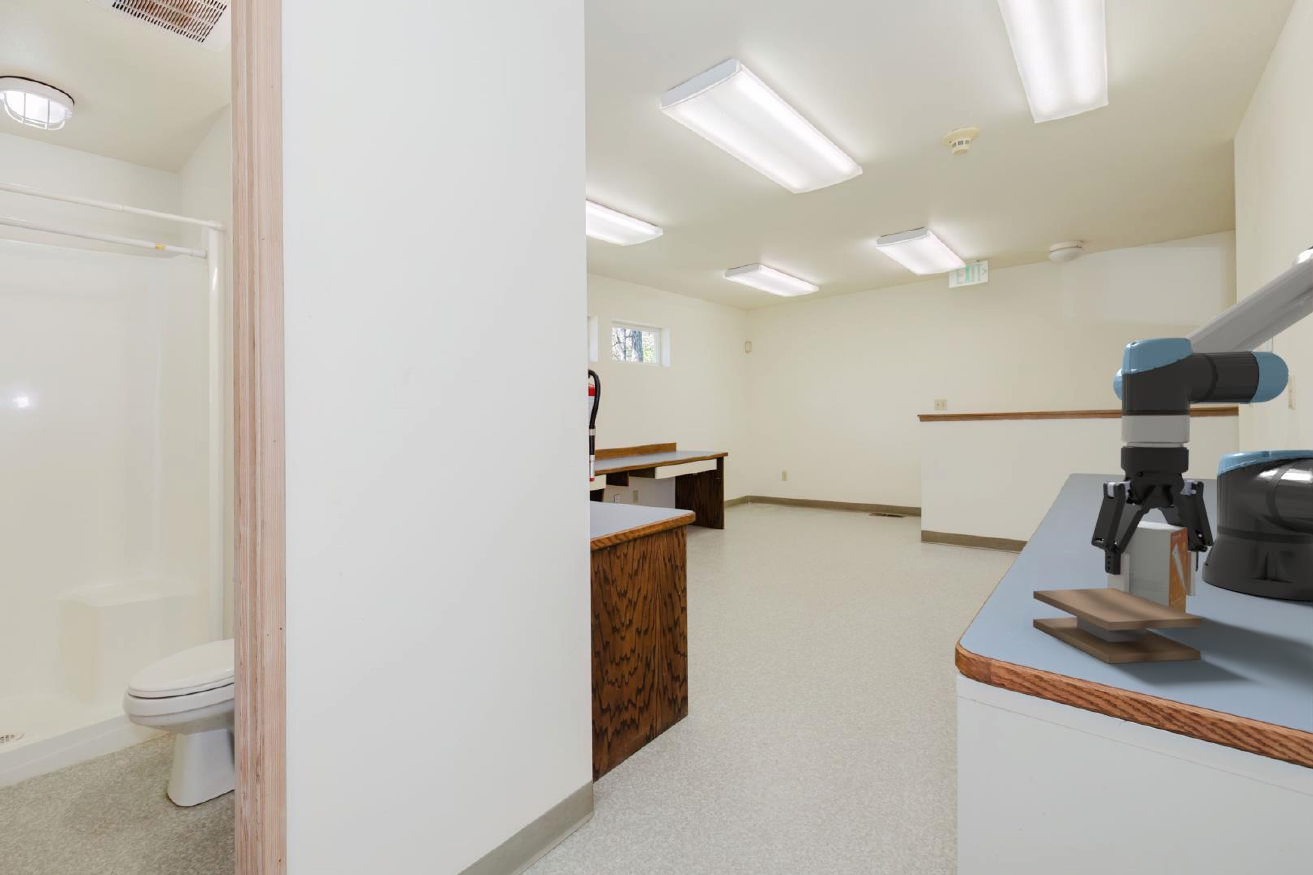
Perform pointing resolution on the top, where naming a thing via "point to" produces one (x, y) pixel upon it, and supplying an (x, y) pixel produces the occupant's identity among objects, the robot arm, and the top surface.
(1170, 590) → the small box
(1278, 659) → the top surface
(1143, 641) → the stand
